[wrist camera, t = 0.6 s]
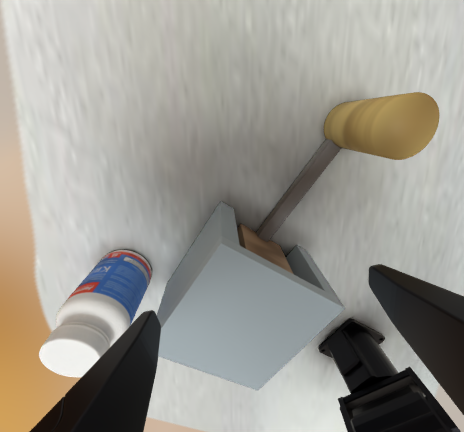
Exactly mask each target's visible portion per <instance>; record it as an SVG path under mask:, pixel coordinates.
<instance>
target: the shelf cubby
mask: <svg viewBox="0 0 464 432" xmlns="http://www.w3.org/2000/svg"><path fill="white" fill-rule="evenodd" d="M286 260H287V262H288V264H289V266H290V268H291V270H292V272H293V274H292V273H290V272H288V271H286V270H284V269H283V268H281V267H279V266H277V265H275V264H273V263H271V262H269V261H268V260H266V259H264V258H262V257H260V256H258V255H256V254H255V253H253V252H251V251H249V250H247V249H245V248H243V247H241V246H240V244H239V238H238V232H237V225H236V219H235V213H234V208H232V207H230V206H229V205H227V204H225V203H223V202H222V201H220V203H219V204H218V206H217V207H216V209H215V211H214V212H213V214H212V215H211V217H210V218H209V220H208V221H207V223H206V224H205V226H204V227H203V229H202V231H201V232H200V234H199V235H198V237H197V238H196V240H195V241H194V243H193V244H192V246H191V247H190V249H189V251H188V252H187V254H186V255H185V257H184V258H183V260H182V261H181V263H180V264H179V266H178V267H177V269H176V271H175V272H174V274H173V275H172V277H171V278H170V280H169V281H168V283H167V285H166V288H165V291H164V295H163V298H162V301H161V304H160V307H159V310H158V313H157V318H158V320H159V322H160V324H161V335H160V344H159V353H158V356H159V357H162V358H165V359H167V360H170V361H173V362H176V363H179V364H182V365H185V366H188V367H191V368H194V369H197V370H199V371H202V372H205V373H208V374H211V375H214V376H217V377H220V378H223V379H226V380H228V381H231V382H234V383H237V384H240V385H243V386H246V387H249V388H252V389H255V390H259V389H260V388H261V387H262V386H263V385H264V384H266V383H267V382H268V381H269V380H270V379H271V378H272V377H273V376H274V375H275V374H276V373H277V372H278V371H279V370H280V369H281V368H283V367H284V366H285V365H286V364H287V363H288V362H289V361H290V360H291V359H292V358H293V357H294V356H295V355H296V354H297V353H298V352H300V351H301V350H302V349H303V348H304V347H305V346H306V345H307V344H308V343H309V342H310V341H311V340H312V339H313V338H314V337H315V336H316V335H318V334H319V333H320V332H321V331H322V330H323V329H324V328H325V327H326V326H327V325H328V324H329V323H330V322H331V321H332V320H333V319H335V318H336V317H337V316H338V315H339V314H340V313H341V312H342V311H343V310H344V309H345V307H344V306H343V304H342V303H341V301H340V300H339V298H338V297H337V295H336V294H335V292H334V291H333V289H332V288H331V286H330V285H329V283H328V282H327V280H326V279H325V277H324V276H323V274H322V273H321V271H320V270H319V268H318V267H317V265H316V264H315V262H314V261H313V259H312V258H311V256H310V255H309V253H308V252H307V251H306V250H304V249H303V248H301V247H299V246H297V245H296V246H295V247H294V249H293V250H292V251H291V252H290V253H289V254H288V256H287V257H286Z"/></svg>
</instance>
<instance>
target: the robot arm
mask: <svg viewBox="0 0 464 432" xmlns="http://www.w3.org/2000/svg"><path fill="white" fill-rule="evenodd" d="M369 286H370V288H371V290H372V291H373V293H374V294H375V296H376V298H377V299H378V301H379V302H380V304H381V306H382V307H383V309H384V310H385V312H386V313H387V315H388V317H389V318H390V320H391V321H392V323H393V324H394V325H395V327H396V328H397V330H398V331H399V332H400V333H401V335H402V336H403V337H404V339H405V340H406V341H407V342H408V344H409V345H410V346H411V348H412V349H413V350H414V351H415V353H416V354H417V355H418V357H419V358H420V359H421V361H422V362H423V363H424V364H425V366H426V367H427V368H428V370H429V371H430V372H431V373H432V375H433V376H434V377H435V379H436V380H437V381H438V383H439V384H440V385H441V386H442V388H443V389H444V390H445V392H446V393H447V394H448V395H449V397H450V398H451V399H452V401H453V402H454V403H455V405H456V406H457V407H458V408H459V410H460V411H461V412H462V414H463V415H464V296H461V295H459V294H456V293H453V292H451V291H448V290H446V289H443V288H441V287H438V286H436V285H433V284H430V283H428V282H425V281H423V280H420V279H418V278H415V277H413V276H410V275H407V274H405V273H402V272H400V271H397V270H395V269H392V268H390V267H387V266H384V265H382V264H378V265H373V266H371V267H370V268H369ZM160 335H161V324H160V322H159V320H158V318H157V316H156V313H155V312H154V311H153V310H151V311H146V312H143V313H142V314H141V315H140V316H139V317H138V318H137V319H136V320H135V321H134V322H133V323H132V325H131V326H130V327H129V328H128V329H127V330H126V331H125V332H124V333H123V334H122V335H121V336H120V337H119V338H118V339H117V340H116V341H115V343H114V344H113V345H112V346H111V347H110V348H109V349H108V350H107V351H106V352H105V353H104V354H103V355H102V356H101V357H100V358H99V360H98V361H97V362H96V363H95V364H94V365H93V366H92V367H91V368H90V369H89V370H88V371H87V372H86V373H85V374H84V375H83V376H82V378H81V379H80V380H79V381H78V382H77V383H76V384H75V385H74V386H73V387H72V388H71V389H70V390H69V391H68V392H67V393H66V395H65V397H63V398H62V399H61V400H60V401H59V402H58V403H57V404H56V405H55V406H54V407H53V408H52V409H51V410H50V411H49V412H48V413H47V414H46V415H45V416H44V417H43V418H42V420H41V421H40V422H39V423H38V424H37V425H36V426H35V427H34V428H33V429H32V430H31V431H30V432H143V430H144V426H145V421H146V416H147V412H148V407H149V402H150V398H151V393H152V388H153V383H154V379H155V374H156V369H157V361H158V353H159V344H160ZM384 340H385V337H384V336H383V335H382V334H380V333H378V332H376V331H375V330H373V329H371V328H369V327H367V326H365V325H363V324H361V323H359V322H357V321H355V320H353V319H350V320H348V321H347V322H346V323H345V324H343V325H342V326H341V327H340V328H339V329H338V330H337V331H336V332H335V333H334V334H333V335H331V336H330V337H329V338H328V339H327V340H326V341H325V342H324V343H323V344H322V345H320V346H319V348H318V349H319V351H320V353H323V354H325V355H327V356H329V357H332V358H333V359H334V361H335V363H336V365H337V367H338V369H339V371H340V373H341V375H342V376H343V378H344V380H345V383H346V385H347V387H348V389H349V391H350V393H351V394H350V395H348V396H346V397H341V398H338V401H339V404H340V410H341V413H342V416H343V419H344V422H345V425H346V428H347V431H348V432H460V430H459V429H458V427H457V426H456V425H455V423H454V422H453V421H452V420H451V418H450V417H449V415H448V414H447V413H446V412H445V410H444V409H443V408H442V406H441V405H440V404H439V403H438V401H437V400H436V399H435V398H434V396H433V395H432V394H431V393H430V391H429V390H428V389H427V388H426V386H425V385H424V384H423V383H422V381H421V380H420V379H419V378H418V376H417V375H416V374H415V373H414V371H413V370H412V369H411V368H410V367H408V368H406V370H404V371H402V372H400V373H398V371H397V370H396V369H395V367H394V366H393V364H392V363H391V362H390V360H389V359H388V357H387V356H386V355H385V353H384V352H383V350H382V349H381V347H380V346H379V344H380V343H381V342H383V341H384Z"/></svg>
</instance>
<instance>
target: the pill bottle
mask: <svg viewBox="0 0 464 432" xmlns="http://www.w3.org/2000/svg"><path fill="white" fill-rule="evenodd" d="M151 275H152V272H151V267H150V265H149V263H148V262H147V261H146V260H145V258H143V257H142V256H141V255H139V254H138V253H135V252H132V251H129V250H117V251H113V252H111V253H109V254H107V255H106V256H105V257H103V258H102V259H101V261H100V262H99V263H98V264H97V265H96V266H95V268H94V269H93V270H92V271H91V272H90V273H89V275H88V276H87V277H86V278H85V279H84V280H83V282H82V283H81V284H80V285H79V286H78V287H77V289H76V290H75V291H74V292H73V293H72V294H71V295H70V297H69V298H68V299H67V300H66V302H65V303H64V304H63V305H62V306H61V308H60V309H59V311H58V313H57V316H56V327H57V328H56V329H55V330H54V331H53V332H52V333H51V334H50V336H49V338H48V339H47V340H46V342H45V343H44V345H43V346H42V347H41V349H40V352H39V357H40V360H41V361H42V363H43V364H44V365H45V366H46V367H47V368H48V369H50V370H51V371H53V372H55V373H58V374H60V375H64V376H69V377H82V376H83V375H84V374H85V373H86V372H87V371H88V370H89V369H90V368H91V367H92V366H93V365H94V364H95V363H96V362H97V361H98V360H99V358H100V357H101V356H102V355H103V354H104V353H105V352H106V351H107V350H108V349H109V348H110V347H111V346H112V345H113V344H114V343H115V341H116V340H117V339H118V338H119V337H120V336H121V335H122V334H123V333H124V332H125V331H126V330H127V329H128V328H129V327H130V325H131V323H132V320H133V318H134V316H135V314H136V311H137V309H138V307H139V305H140V302H141V300H142V298H143V296H144V294H145V291H146V289H147V287H148V285H149V282H150V280H151Z"/></svg>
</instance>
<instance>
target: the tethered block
mask: <svg viewBox="0 0 464 432" xmlns="http://www.w3.org/2000/svg"><path fill="white" fill-rule="evenodd" d="M438 123H439V109H438V106H437V103H436V102H435V100H434V99H433V98H432V97H431V96H429V95H427V94H425V93H420V92H415V93H408V94H401V95H394V96H387V97H380V98H373V99H366V100H359V101H352V102H345V103H341V104H339V105H337V106H336V107H335V108H333V109H332V110H331V112H330V113H329V114H328V116H327V118H326V120H325V124H324V134H325V137H326V140H325V141H324V143H323V144H322V145H321V147H320V148H319V149H318V151H317V152H316V153H315V155H314V156H313V157H312V159H311V160H310V161H309V163H308V164H307V165H306V167H305V168H304V169H303V171H302V172H301V173H300V175H299V176H298V177H297V179H296V180H295V181H294V183H293V184H292V185H291V187H290V188H289V189H288V191H287V192H286V193H285V195H284V196H283V197H282V199H281V200H280V201H279V203H278V204H277V205H276V207H275V208H274V209H273V211H272V212H271V213H270V215H269V216H268V217H267V219H266V220H265V221H264V223H263V224H262V225H261V227H260V228H259V229H258V231H257V232H255V231H253V230H251V229H250V228H248V227H246V226H244V225H242V224H240V226H239V227H238V228H237V232H238V238H239V244H240V246H241V247H243V248H245V249H247V250H249V251H251V252H253V253H255V254H256V255H258V256H260V257H262V258H264V259H266V260H268V261H269V262H271V263H273V264H275V265H277V266H279V267H281V268H283V269H284V270H286V271H288V272H290V273H292V274H293V272H292V270H291V268H290V266H289V264H288V262H287V260H286V257H285V255H284V253H283V251H282V249H281V247H280V245H278V244H276V243H274V242H273V241H271V240H270V238H271V237H272V236H273V235H274V233H275V232H276V231H277V230H278V228H279V227H280V226H281V224H282V223H283V222H284V221H285V219H286V218H287V217H288V216H289V214H290V213H291V212H292V210H293V209H294V208H295V207H296V205H297V204H298V203H299V202H300V200H301V199H302V198H303V196H304V195H305V194H306V193H307V191H308V190H309V189H310V188H311V186H312V185H313V184H314V182H315V181H316V180H317V179H318V177H319V176H320V175H321V174H322V172H323V171H324V170H325V169H326V167H327V166H328V165H329V163H330V162H331V161H332V160H333V158H334V157H335V156H336V155H337V153H338V152H339V151H340V149H341V148H345V149H349V150H354V151H358V152H363V153H367V154H371V155H376V156H380V157H385V158H389V159H394V160H402V159H406V158H409V157H412V156H414V155H415V154H417V153H419V152H420V151H421V150H422V149H424V148H425V147H426V146H427V144H428V143H429V142H430V141H431V139H432V138H433V136H434V134H435V132H436V130H437V127H438Z"/></svg>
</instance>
